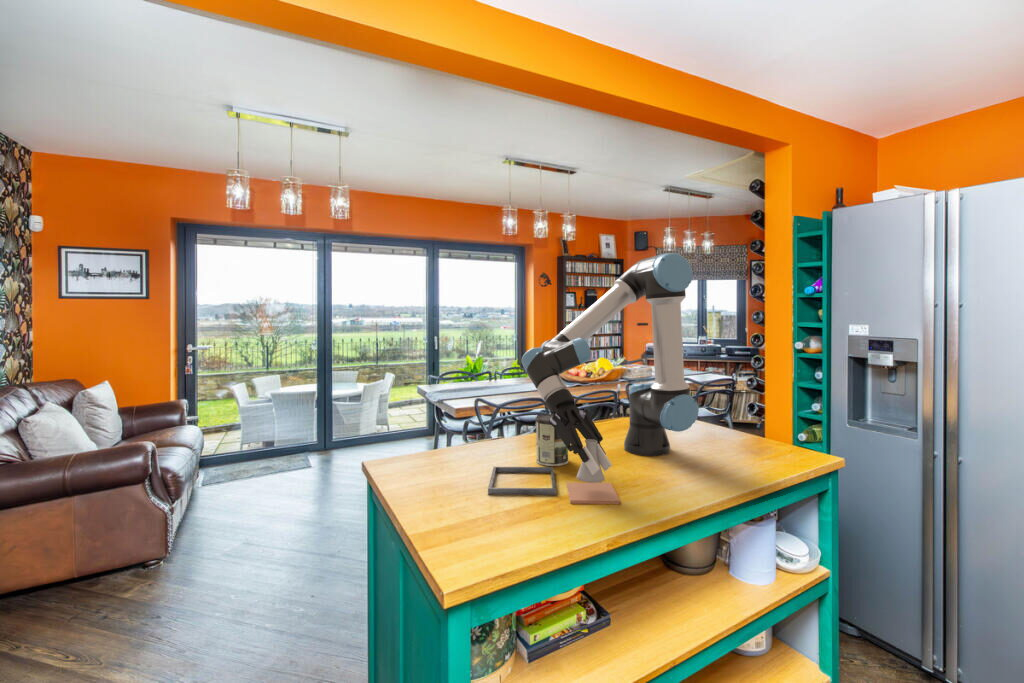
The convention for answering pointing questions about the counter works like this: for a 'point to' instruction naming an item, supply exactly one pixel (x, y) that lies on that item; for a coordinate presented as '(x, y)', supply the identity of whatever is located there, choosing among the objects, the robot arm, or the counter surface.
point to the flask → (584, 471)
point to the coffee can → (549, 443)
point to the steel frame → (522, 490)
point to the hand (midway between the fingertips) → (602, 469)
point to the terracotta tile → (592, 493)
